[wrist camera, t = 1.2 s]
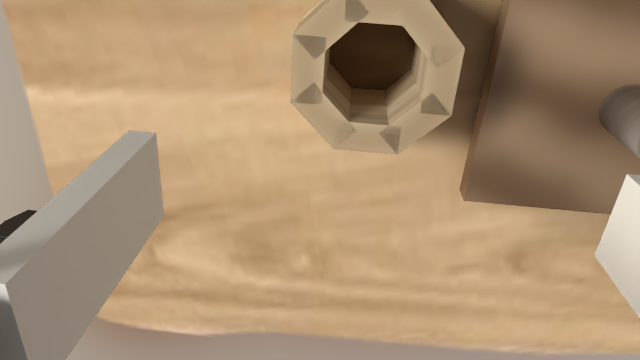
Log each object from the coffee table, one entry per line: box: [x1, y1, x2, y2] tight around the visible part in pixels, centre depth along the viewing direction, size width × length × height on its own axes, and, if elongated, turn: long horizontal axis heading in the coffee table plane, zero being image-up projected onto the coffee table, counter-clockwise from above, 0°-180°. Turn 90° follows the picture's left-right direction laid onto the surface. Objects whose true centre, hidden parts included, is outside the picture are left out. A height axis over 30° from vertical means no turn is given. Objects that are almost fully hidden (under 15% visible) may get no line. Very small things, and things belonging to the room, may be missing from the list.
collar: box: [290, 0, 465, 155], centre depth 27 cm, size 8×8×6 cm
